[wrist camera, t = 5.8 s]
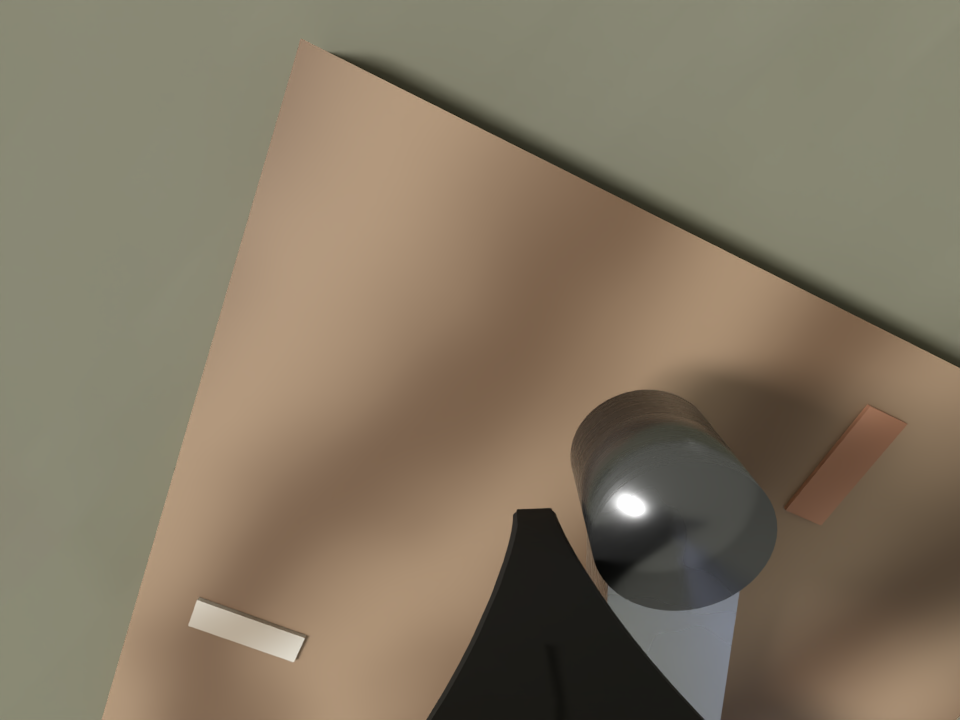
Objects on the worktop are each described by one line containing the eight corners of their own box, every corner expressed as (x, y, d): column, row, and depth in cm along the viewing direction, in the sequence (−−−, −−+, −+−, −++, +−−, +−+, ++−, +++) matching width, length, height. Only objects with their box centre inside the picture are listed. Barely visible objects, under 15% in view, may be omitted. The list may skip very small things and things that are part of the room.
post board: (1154, 466, 13) (1329, 549, 11) (676, 908, 21) (705, 1026, 18) (321, 51, 11) (258, 13, 8) (112, 730, 18) (42, 835, 15)
